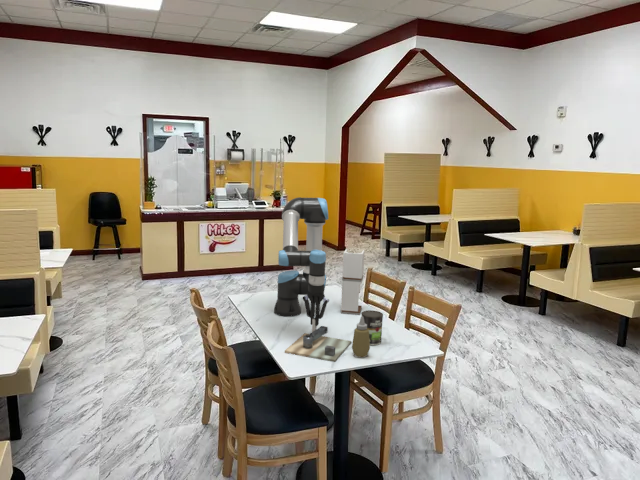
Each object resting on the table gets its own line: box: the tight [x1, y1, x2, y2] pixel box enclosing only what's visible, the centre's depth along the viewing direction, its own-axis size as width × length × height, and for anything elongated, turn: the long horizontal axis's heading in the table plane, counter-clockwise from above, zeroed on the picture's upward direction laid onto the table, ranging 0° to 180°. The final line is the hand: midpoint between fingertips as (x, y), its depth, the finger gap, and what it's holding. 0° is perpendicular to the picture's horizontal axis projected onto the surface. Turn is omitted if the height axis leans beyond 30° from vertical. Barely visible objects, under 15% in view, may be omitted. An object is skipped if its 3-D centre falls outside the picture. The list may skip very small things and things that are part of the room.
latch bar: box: [303, 325, 329, 348], centre depth 233 cm, size 18×4×5 cm, turn 152°
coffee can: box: [360, 310, 384, 346], centre depth 238 cm, size 10×10×14 cm
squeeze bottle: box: [351, 315, 371, 358], centre depth 221 cm, size 8×8×18 cm
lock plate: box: [284, 332, 352, 363], centre depth 229 cm, size 24×24×7 cm
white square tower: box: [340, 248, 365, 316], centre depth 281 cm, size 11×11×35 cm
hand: (314, 331), depth 236 cm, fingers closed
